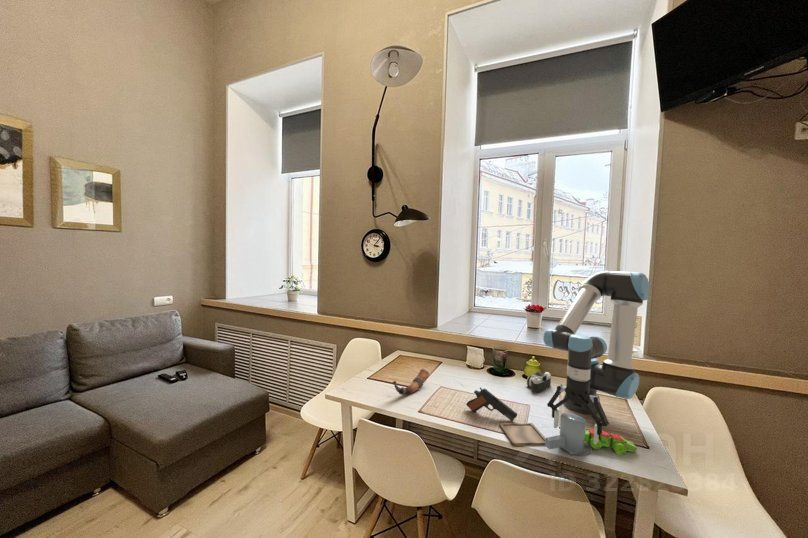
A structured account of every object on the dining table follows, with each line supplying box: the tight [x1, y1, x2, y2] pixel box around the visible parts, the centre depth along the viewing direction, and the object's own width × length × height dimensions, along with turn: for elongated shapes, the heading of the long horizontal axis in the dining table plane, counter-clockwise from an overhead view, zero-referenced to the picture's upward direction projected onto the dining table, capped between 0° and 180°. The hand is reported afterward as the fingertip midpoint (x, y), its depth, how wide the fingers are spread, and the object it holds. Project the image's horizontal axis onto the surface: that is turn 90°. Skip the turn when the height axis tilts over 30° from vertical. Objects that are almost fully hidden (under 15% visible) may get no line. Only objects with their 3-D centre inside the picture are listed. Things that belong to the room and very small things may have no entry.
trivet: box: [560, 442, 593, 456], centre depth 117 cm, size 11×11×1 cm
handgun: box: [465, 387, 518, 422], centre depth 138 cm, size 2×19×12 cm, turn 62°
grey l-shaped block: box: [544, 412, 587, 455], centre depth 114 cm, size 15×8×11 cm, turn 108°
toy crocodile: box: [585, 429, 638, 455], centre depth 117 cm, size 20×7×6 cm, turn 76°
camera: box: [526, 371, 552, 394], centre depth 169 cm, size 16×9×10 cm, turn 129°
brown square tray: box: [498, 422, 547, 447], centre depth 124 cm, size 14×14×1 cm
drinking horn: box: [392, 368, 430, 396], centre depth 159 cm, size 5×29×10 cm, turn 144°
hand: (575, 434), depth 117 cm, fingers open, 13 cm apart
